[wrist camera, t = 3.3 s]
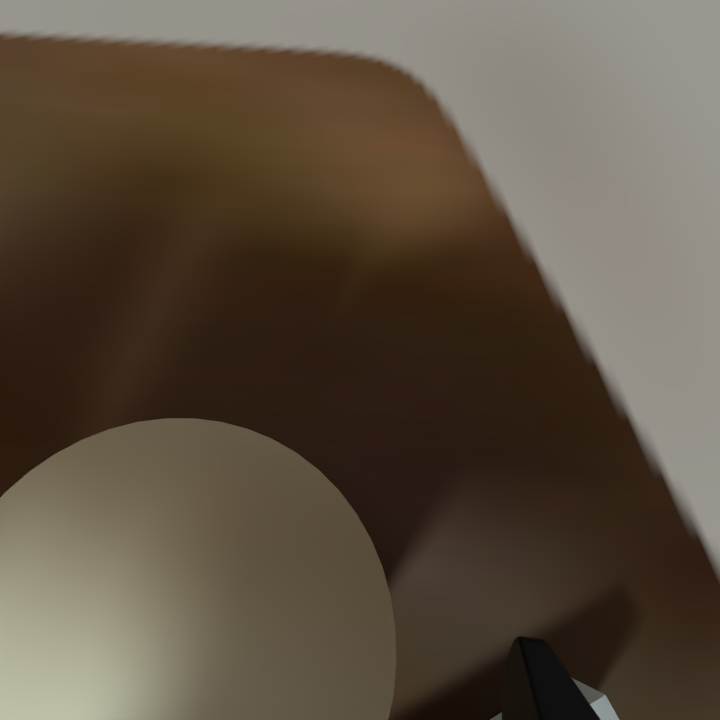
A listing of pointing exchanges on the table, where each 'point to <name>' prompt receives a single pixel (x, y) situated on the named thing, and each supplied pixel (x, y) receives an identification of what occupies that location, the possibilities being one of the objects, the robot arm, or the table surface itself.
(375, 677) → the birch cylinder
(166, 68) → the table surface
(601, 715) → the acrylic wall
